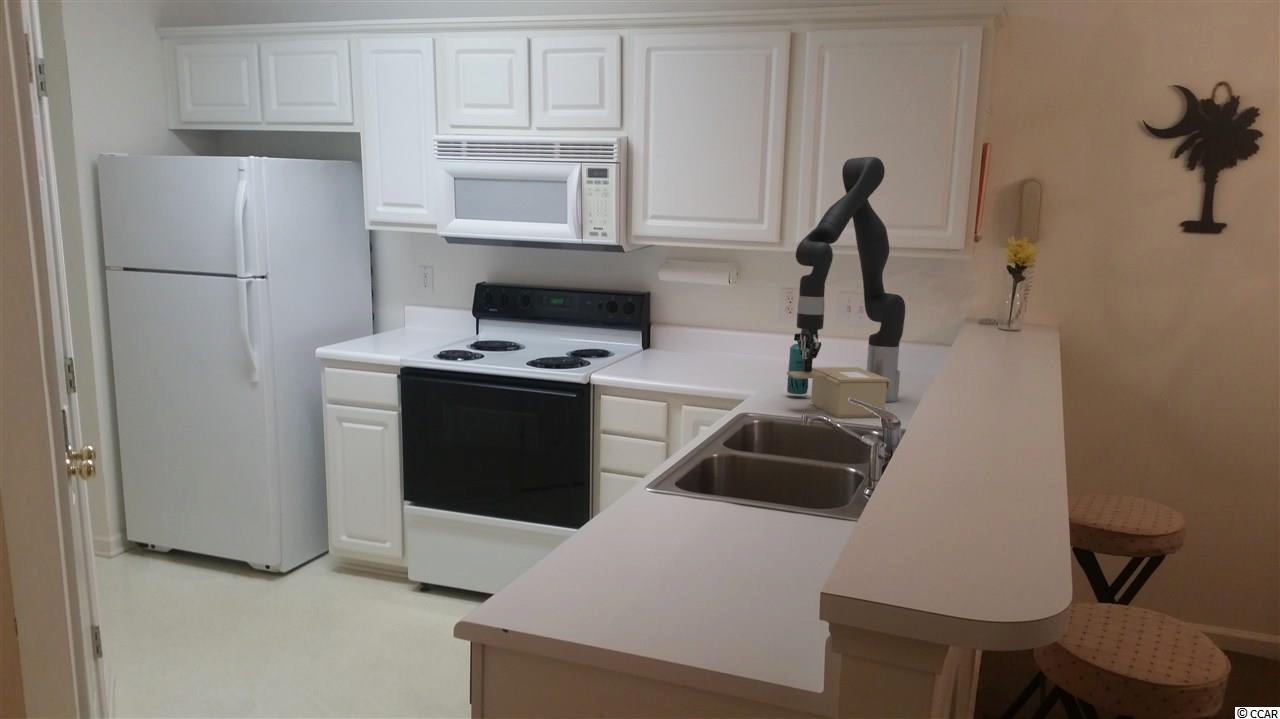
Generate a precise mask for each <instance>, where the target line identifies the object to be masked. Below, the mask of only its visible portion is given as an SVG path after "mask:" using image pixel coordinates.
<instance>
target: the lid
mask: <svg viewBox="0 0 1280 719" xmlns="http://www.w3.org/2000/svg"><path fill="white" fill-rule="evenodd" d="M786 375H787V376H788V375H790V376H792V377H794V378H808V379H813V378H822V379H825V380H827V381H829V382H831V383H834V384H836V385H839V384H840V382H887V389H891V380H889V379H887V378H885V377H882V376H879V375H877V374H874V373H871V372H869V371H867V369H863V368H861V367H859V366H858V367H857V366H856V367H855V366H854V367H852V366H850V367H849V366H845V367H844V366H842V367H837V366H836V367H835V366H832V367H831V366H830V367H816V366H815V367H812V372H804V371H794V372H788V371H786Z"/></svg>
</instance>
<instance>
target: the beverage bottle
mask: <svg viewBox="0 0 1280 719" xmlns="http://www.w3.org/2000/svg"><path fill="white" fill-rule="evenodd" d="M800 335H801V332H800V333H795V334H794V338H793V341H795V342H797V337H800ZM803 359H804V358H802V355H800V351H799V347H798V343H794V344H792V345H791V346H790V347H789V360H788V371H787V372H794V371H803ZM786 387H787V388H786V391H787V393H788V394H793V395H807V393H808V391H809V378H794V377H792V376H790V375H787V385H786Z"/></svg>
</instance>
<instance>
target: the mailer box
mask: <svg viewBox="0 0 1280 719" xmlns="http://www.w3.org/2000/svg"><path fill="white" fill-rule="evenodd" d="M811 381H812V383H811V398H810V399H811V400H810V404H811V403H813V404H814V405H813V404H812V405H813V406H815V405H816V406H815V407H817V406H818V407H817V408H819V407H820V408H821V410H822V409H823V410H822V411H824V410H825V411H824V412H827V413H828V414H830V415H832V416H834V417H836V418H838V419H848V418H849V419H855V418H879V417H878V416H877V415H875V414H874V413H873V412H870V411H869V410H867V409H865V408H864V407H862V406H859V405H857V404H854V403H851V402H850V401H848V398H849V397H851V398H853V399H856V400H859V401H862V402H864V403H867V404H870V405H872V406H875V407H878V408H881V409H883V410H885V411H886V403H887V402H886V388H887V382H840V384H839V385H836V384H834V383H831V382H829V381H827V380H825V379H822V378H812V380H811ZM820 408H819V409H820Z"/></svg>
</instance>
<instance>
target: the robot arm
mask: <svg viewBox="0 0 1280 719" xmlns="http://www.w3.org/2000/svg"><path fill="white" fill-rule="evenodd" d="M841 172H842V176H841V177H842V182H843V186H844V190H845V193H846V194H844V195H843V196H842V197H841V198H839V199H838V200H837V201H835V203H833V204H832V205H831V206H830V207H829V208H828V209H827V210H826V212H825V213H824V215H823V216H822V218H821V219H820V221H819V222H818V224H817V226H816V227H815V228H814V229H812V230H811V231H810V232H809V233H808V234H807V235H806V236H805V237H803V239H802V240H801V241H800V242H799V244H798V245H797V247H796V250H795V259H796V262H797V263H798V264H799V265H801V266H803V267H804V266H805V267H811V268H812V269H811V273H810V274H804V275H802V276H801V278H800V281H799V292H798V293H799V296H798V300H797V312H796V314H797V315H796V328H797V329H799V330H800V329H801V331H800V333H801V335H800V337H797V341H796V342H797V344H798V347H799V351H800V355H802V358H804V359H803V371H804V372H812V368H813V360H814V359H816V358H817V357H818V355H819V352H820V350H821V347H822V341H821V342H819V332H818V331H819V330H823V329H824V320H825V288H826V287H825V285H826V280H827V278H828V275H829V273H830V272H829V271H830V269H831V266H832V262H833V258H834V255H833V254H834V252H833V248H832V247H831V244H835V243H836V242H837V241H838V240H839V238H840V237H841V235H842V234H843V232H844V231H845V228H846V227H847V225H848V224H849V222H850V220H851V219H852V222H853V223H852V224H853V227H854V234H855V239H856V246H857V252H858V256H859V261H860V267H861V268H860V269H861V275H862V276H861V278H862V283H863V284H862V285H863V299H864V300H863V301H864V302H863V303H864V309H865V313H866V316H867V317H868V319H869V320H870V321H873V322H876V323H880V328H879V330H878V331H877V332H876V333H871V334H870V335H869V336H868V345H867V347H868V348H867V359H866V360H867V361H866V371H869V372H871V373H874V374H877V375H879V376H882V377H885V378H887V379H889V380H891V389H887V388H886V402H885V403H894V402H899V392H900V380H901V379H900V376H901V371H900V370H899V369H898V368H899V353H900V342H901V340H902V338H903V334H904V326H905V318H906V303H905V300H904V298H903V297H902V296H901V295H899V294H897V293H896V294H895V293H886V291H885V288H884V282H883V274H884V269H885V266H886V264H887V261H888V258H889V255H890V242H889V237H888V231H887V228H886V226H885V224H884V222H883V221H882V219H881V218H880V217H879V215H878V214H877V213H876V211H875V210H874V208H873V207H872V205H871V203H870V201H869V198H870V196H872V195H873V193H874V192H875V191H876V190H877V189H878V187H879V186H880V185H881V184H882V183H883V180H884V178H885V172H886V170H885V166H884V163H883V161H882V160H881V159H880V158H879V157H877V156H862V157H854V158H849V159H847V160H846V161H845V162H844V164H843V166H842V171H841Z"/></svg>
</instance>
